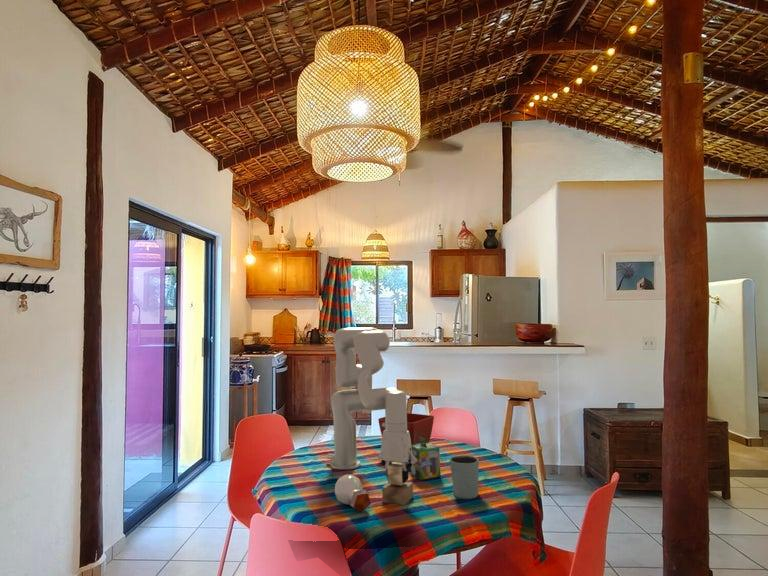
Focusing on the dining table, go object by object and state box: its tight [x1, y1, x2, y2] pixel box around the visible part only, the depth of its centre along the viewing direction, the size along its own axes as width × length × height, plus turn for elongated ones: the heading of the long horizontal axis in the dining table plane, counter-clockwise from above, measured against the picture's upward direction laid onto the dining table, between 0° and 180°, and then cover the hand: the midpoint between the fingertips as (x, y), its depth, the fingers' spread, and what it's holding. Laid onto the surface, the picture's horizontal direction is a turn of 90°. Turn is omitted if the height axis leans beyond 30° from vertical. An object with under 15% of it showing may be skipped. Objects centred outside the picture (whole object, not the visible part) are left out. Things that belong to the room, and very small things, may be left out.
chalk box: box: [410, 437, 442, 481], centre depth 192 cm, size 9×9×15 cm
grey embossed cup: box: [449, 455, 480, 500], centre depth 170 cm, size 10×10×12 cm
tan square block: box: [381, 481, 414, 506], centre depth 167 cm, size 8×8×5 cm
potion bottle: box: [334, 474, 371, 513], centre depth 162 cm, size 9×10×15 cm
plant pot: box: [378, 412, 435, 445], centre depth 222 cm, size 19×19×17 cm
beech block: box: [387, 462, 404, 485], centre depth 167 cm, size 5×5×6 cm
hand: (397, 480), depth 167 cm, fingers closed on beech block, 4 cm apart
